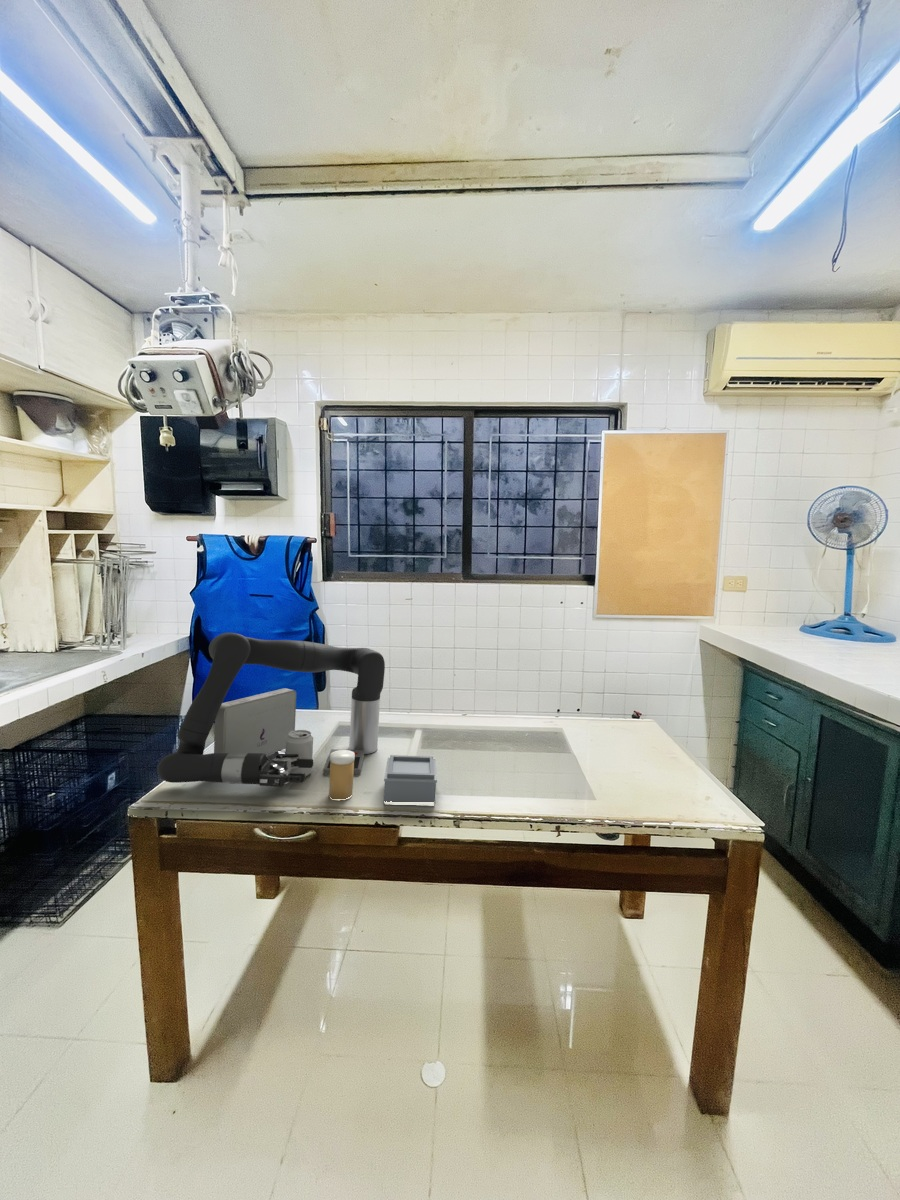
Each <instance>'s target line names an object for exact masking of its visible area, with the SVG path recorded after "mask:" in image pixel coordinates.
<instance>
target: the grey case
mask: <svg viewBox="0 0 900 1200" xmlns="http://www.w3.org/2000/svg"><path fill="white" fill-rule="evenodd" d="M386 760H387V761H386V766H385V772H384V778H383V781H384V789H383V793H384V794H383V802H384V801H385V802H386V801H387V802H390V801H392V802H434V801H435V802H436V791H437V790H436V789H437V783H438V776H437V764H436V763H437V762H436V758H434V756H430V755H428V756H427V755H425V756H424V755H399V754H398V755H397V754H396V755H395V754H390V755H389V757H387V759H386Z"/></svg>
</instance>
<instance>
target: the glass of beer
mask: <svg viewBox="0 0 900 1200" xmlns="http://www.w3.org/2000/svg"><path fill="white" fill-rule="evenodd" d="M329 754H330V753H329ZM354 760H355V753H354V752H352V751H349V749H339V750H337V751H334V752H332V753H331V754H330V775H329V782H328V783H329V784H328V785H329V786H328V787H329V788H328V797H329V796H330V797H331V798H332V799H346V798H348V797H350V796H351V795H352V796H353V792H354V791H353V788H354V787H353V786H354V775H353V772H354Z"/></svg>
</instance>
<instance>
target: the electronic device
mask: <svg viewBox="0 0 900 1200" xmlns="http://www.w3.org/2000/svg"><path fill="white" fill-rule="evenodd" d="M337 750H340V749H338V748H337V749H330V751H329V754H328V756H327V759H326V762H325V764H324V768H323V773H322V774H323V776H330V754H331V753H332V752H334V751H337ZM348 750H349V749H348ZM349 751H352V752H354V753H355V760H354V772H353V776H354V777H355V776H361V775H362V774H361V773H362V769H363V764H364V763H363V762H364V759H365V754H364V750H349Z"/></svg>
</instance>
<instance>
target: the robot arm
mask: <svg viewBox="0 0 900 1200" xmlns="http://www.w3.org/2000/svg"><path fill="white" fill-rule="evenodd" d="M208 653H209V656H210V658H211V659H212V663H211V665H210V666H211V667H210V669H209V673H208V674H207V677H206V679H205V681H204V683H203V685H202V686H201V688H200V690H199V692H198V693H197V695H196V696H195V698H193V701H192V702H191V704H190V706H189V708H188V710H187V711H186V714H185V716H184V719H183V721H182V723H181V725H180V728H179V729H178V732H177V739H178V740H179V744H178V746H177V750H176V752H172V753H169V754H167V755H165V756H164V757H163V758H162V759H161V760H160V761H159V763H158V765H157V769H156V770H157V771H156V772H157V774H158V777H159V778H160V779H161V780H162V781H164V782H167V783H179V784H180V783H195V782H208V783H226V784H232V785H233V784H234V785H259V786H261V787H277V788H278V787H279V788H283V787H285V784H288V783H304V782H305V780H306V777H305V773H300V772H290V774H289V772H288V771H290V770H291V769H293V768H297V767H298V768H312V769H313V767H314V759H313V758H312V759H299V757H298V756H299V755H298V754H277V753H276V754H275V758H274V759H269V758H268V756H267V755H266V754H263V753H230V754H229V753H214V752H213V753H206V754H205V753H204V752H205V747H206V741H207V739H208V736H209V735H210V732H211V730H212V727H213V725H214V724H215V719H216V716H217V714H218V711H219V709H220V707H221V704H222V703H224V700H225V699H226V696H227V693H229V689H230V688H231V686H232V684H233V682H234V680H235V679H236V677H237V676H238V674H239V673H240V670H241V669H242V667H243V666H244V665H260V666H266V667H269V668H273V669H278V670H282V671H283V670H284V671H288V672H299V673H313V674H314V673H322V672H327V671H341V672H348V673H353V674H355V675H357V682H356V686H355V687H353V688H352V691H351V704H350V706H351V707H350V726H349V742H348V743H349V744H348V750H364V755H368V754H372V753H375V752H377V750H378V747H379V746H378V745H379V744H378V741H379V726H380V725H379V724H380V708H381V707H380V705H381V704H380V703H381V693H382V691H383V689H384V688H383V687H384V681H385V672H386V671H385V670H386V666H385V665H386V663H385V659H384V656H383V655H382V654H381V653H380V652H378V651H376V650H374V649H370V648H368V647H337V646H334V645H333V646H332V645H329V644H324V643H319V642H312V641H305V640H294V639H292V640H291V639H260V638H259V639H258V638H253V637H248V636H244V635H242V634H240V633H237V632H223V633H220V634H218V635H217V636H215V637H214V638H213V639H212V640H211V641H210V643H209V645H208Z"/></svg>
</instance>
